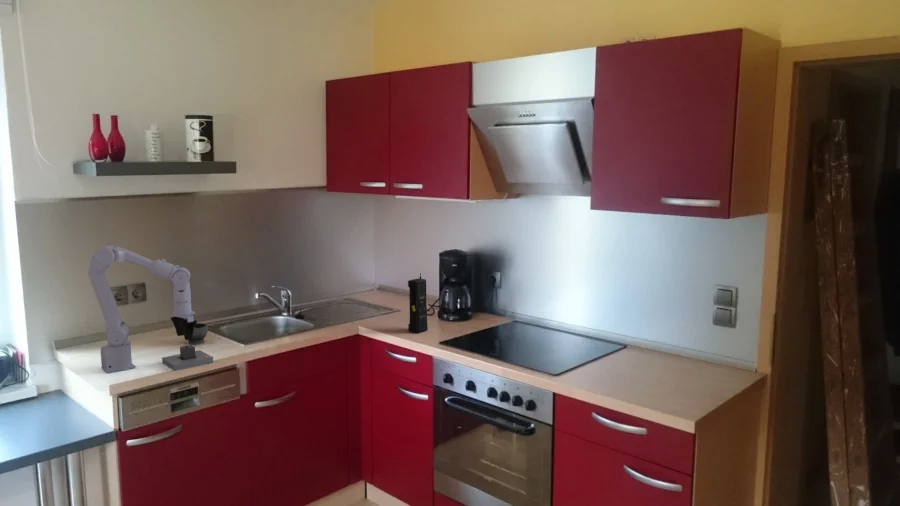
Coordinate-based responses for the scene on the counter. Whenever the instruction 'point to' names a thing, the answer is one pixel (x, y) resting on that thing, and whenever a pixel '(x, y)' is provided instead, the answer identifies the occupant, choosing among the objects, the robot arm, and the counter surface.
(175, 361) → the plate
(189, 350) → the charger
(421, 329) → the portable radio
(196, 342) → the mortar and pestle
